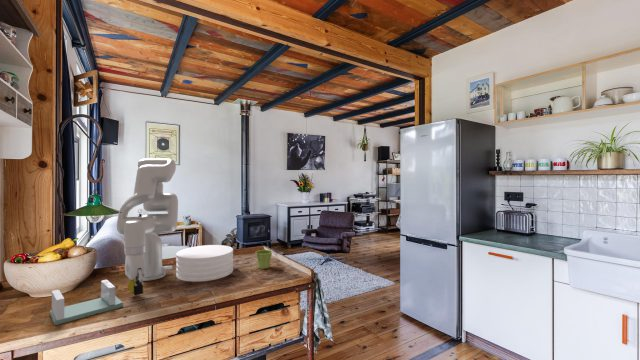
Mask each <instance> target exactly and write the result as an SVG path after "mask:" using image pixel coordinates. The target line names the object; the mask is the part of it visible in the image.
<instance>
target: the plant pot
mask: <svg viewBox="0 0 640 360" xmlns="http://www.w3.org/2000/svg"><path fill="white" fill-rule="evenodd" d="M272 253H273V250H270V249H262V250H257V251H255V253H254V254H255V256H256V260H257V267H258V268H259V269H261V270H264V269H266V270H267V269H269V268H270V266H271V258H272V255H273V254H272Z"/></svg>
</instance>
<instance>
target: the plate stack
mask: <svg viewBox="0 0 640 360" xmlns="http://www.w3.org/2000/svg"><path fill="white" fill-rule="evenodd" d="M175 255H176V258H175V261H176V262H175V264H176V265H175V266H176V268H175V270H176V273H175V274H176V275H175V277H176V279H178V280H180V281H184V282H207V281H213V280H218V279H221V278H225V277H227V276H229V275H231V274H232V273H233V271H234V247H231V246H229V245H223V244H207V245H206V244H205V245H197V246H191V247H186V248H184V249H180V250H179V251H177V252H176V254H175Z"/></svg>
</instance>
